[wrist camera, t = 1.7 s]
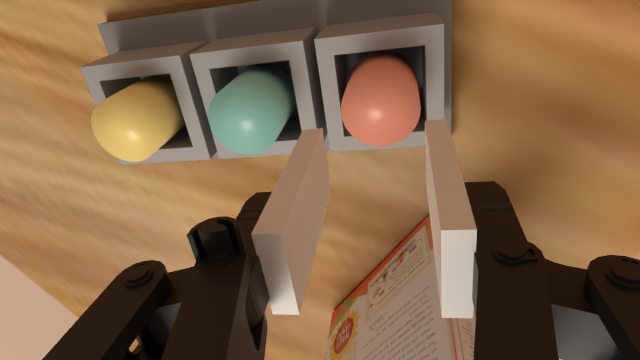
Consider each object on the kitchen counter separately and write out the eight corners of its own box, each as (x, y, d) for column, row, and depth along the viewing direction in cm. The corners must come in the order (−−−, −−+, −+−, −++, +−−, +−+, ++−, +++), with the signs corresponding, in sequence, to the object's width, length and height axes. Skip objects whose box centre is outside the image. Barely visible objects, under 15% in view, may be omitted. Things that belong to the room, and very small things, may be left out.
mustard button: (145, 134, 28) (107, 163, 24) (124, 78, 26) (80, 101, 23) (197, 130, 27) (166, 160, 24) (179, 72, 25) (142, 94, 22)
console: (155, 156, 33) (119, 189, 28) (106, 21, 28) (54, 37, 24) (449, 137, 28) (459, 172, 24) (450, -28, 23) (462, -20, 19)
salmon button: (353, 118, 25) (345, 148, 21) (345, 53, 23) (336, 75, 20) (418, 113, 24) (421, 144, 21) (415, 46, 23) (419, 67, 19)
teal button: (243, 126, 27) (218, 156, 23) (228, 66, 25) (199, 89, 21) (301, 122, 26) (285, 152, 22) (290, 59, 24) (271, 81, 20)
